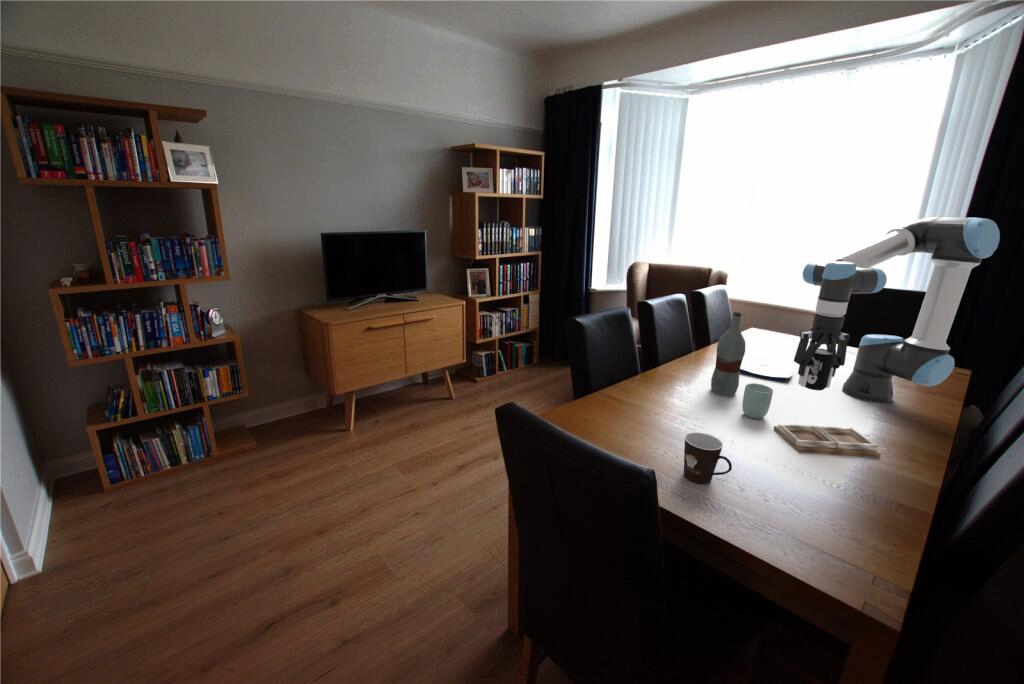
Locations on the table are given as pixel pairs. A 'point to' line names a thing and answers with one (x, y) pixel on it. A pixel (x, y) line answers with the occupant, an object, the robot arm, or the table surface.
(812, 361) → the beverage can
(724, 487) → the table surface
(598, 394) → the table surface
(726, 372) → the bottle
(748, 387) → the cup
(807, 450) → the divided tray
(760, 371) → the plate
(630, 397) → the table surface
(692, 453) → the coffee mug
